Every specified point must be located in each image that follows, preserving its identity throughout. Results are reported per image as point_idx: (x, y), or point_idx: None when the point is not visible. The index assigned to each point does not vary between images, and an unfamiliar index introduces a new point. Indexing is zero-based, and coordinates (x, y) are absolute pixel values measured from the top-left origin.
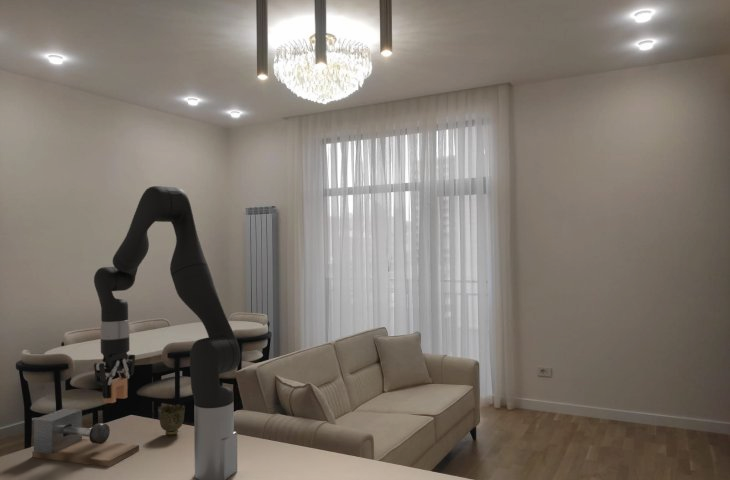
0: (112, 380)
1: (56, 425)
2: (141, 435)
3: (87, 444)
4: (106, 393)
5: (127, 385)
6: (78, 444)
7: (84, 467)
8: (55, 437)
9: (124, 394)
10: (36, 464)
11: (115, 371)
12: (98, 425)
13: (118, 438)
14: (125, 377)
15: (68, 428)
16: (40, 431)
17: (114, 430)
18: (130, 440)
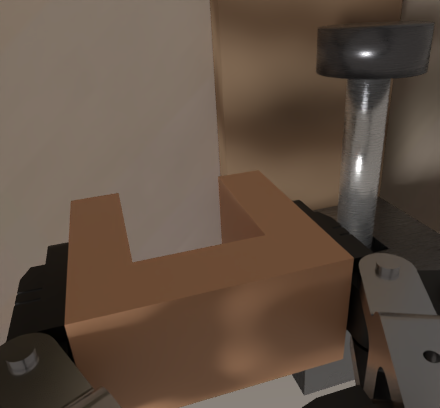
0: (243, 363)
1: (436, 249)
2: (13, 65)
3: (275, 161)
4: (340, 225)
5: (45, 279)
6: (285, 194)
7: (410, 5)
8: (403, 224)
9: (115, 209)
10: (403, 198)
11: (410, 369)
12: (421, 44)
13: (108, 148)
14: (64, 360)
15: (372, 231)
16: None
17: (34, 257)
18: (102, 64)
